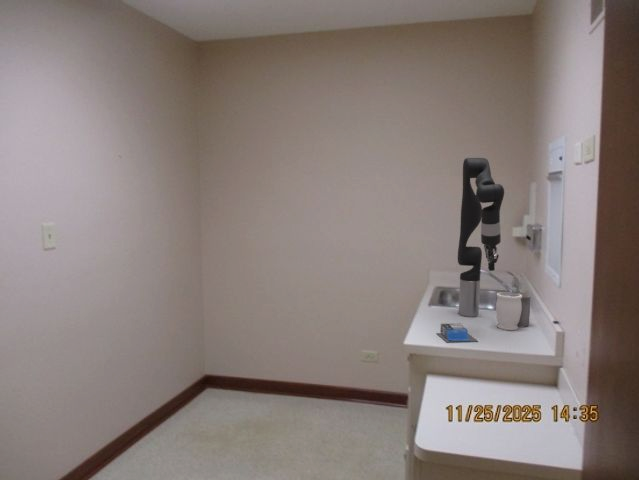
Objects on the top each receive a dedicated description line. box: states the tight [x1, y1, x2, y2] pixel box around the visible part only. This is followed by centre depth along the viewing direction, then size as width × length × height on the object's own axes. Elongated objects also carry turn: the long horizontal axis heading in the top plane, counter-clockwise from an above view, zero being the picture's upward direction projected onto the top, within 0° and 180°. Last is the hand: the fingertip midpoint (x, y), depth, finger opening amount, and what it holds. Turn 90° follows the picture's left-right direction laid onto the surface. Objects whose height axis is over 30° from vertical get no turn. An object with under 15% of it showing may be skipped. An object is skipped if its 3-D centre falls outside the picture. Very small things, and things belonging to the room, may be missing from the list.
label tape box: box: [439, 322, 471, 341], centre depth 194 cm, size 9×4×12 cm
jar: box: [495, 291, 522, 331], centre depth 207 cm, size 11×10×15 cm
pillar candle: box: [511, 291, 532, 328], centre depth 213 cm, size 10×10×15 cm
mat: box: [436, 332, 479, 344], centre depth 194 cm, size 12×13×1 cm
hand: (491, 269), depth 200 cm, fingers closed
